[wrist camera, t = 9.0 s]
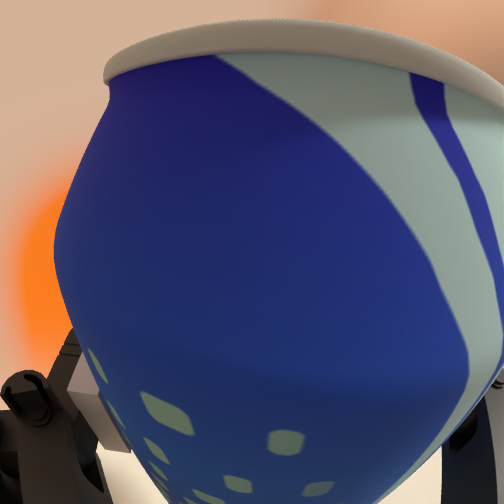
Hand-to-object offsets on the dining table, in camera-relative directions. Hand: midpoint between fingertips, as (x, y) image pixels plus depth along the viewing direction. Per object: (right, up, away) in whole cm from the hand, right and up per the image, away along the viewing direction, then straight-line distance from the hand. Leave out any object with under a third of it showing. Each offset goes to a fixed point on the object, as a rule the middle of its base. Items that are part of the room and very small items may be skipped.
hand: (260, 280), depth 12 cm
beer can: (0, -10, 0) cm, 10 cm away
